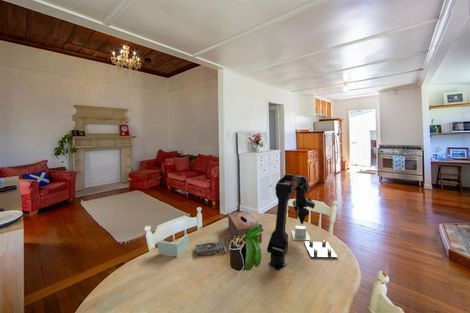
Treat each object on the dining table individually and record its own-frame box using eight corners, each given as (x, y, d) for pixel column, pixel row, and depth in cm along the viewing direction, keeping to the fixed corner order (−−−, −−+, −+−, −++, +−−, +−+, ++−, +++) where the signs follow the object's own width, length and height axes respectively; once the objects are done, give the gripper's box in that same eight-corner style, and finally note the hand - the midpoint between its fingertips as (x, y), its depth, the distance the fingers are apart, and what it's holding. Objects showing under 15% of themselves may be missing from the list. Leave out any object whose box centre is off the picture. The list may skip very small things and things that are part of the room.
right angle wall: (188, 246, 126) (187, 233, 125) (177, 257, 114) (176, 244, 113) (170, 243, 129) (170, 231, 128) (158, 254, 118) (157, 241, 117)
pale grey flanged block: (310, 241, 127) (310, 232, 126) (293, 241, 128) (293, 231, 127) (306, 232, 138) (306, 223, 138) (291, 231, 140) (291, 223, 139)
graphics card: (223, 237, 128) (226, 247, 117) (223, 243, 129) (227, 253, 117) (194, 241, 125) (195, 251, 113) (195, 247, 125) (195, 258, 113)
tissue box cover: (261, 241, 128) (261, 225, 127) (238, 245, 124) (238, 229, 123) (248, 224, 153) (247, 211, 152) (228, 227, 149) (228, 213, 148)
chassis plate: (337, 258, 108) (337, 253, 108) (311, 258, 109) (311, 252, 109) (327, 243, 123) (327, 238, 123) (304, 243, 124) (304, 238, 124)
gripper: (318, 200, 120) (318, 227, 122) (310, 191, 139) (309, 215, 141) (298, 200, 121) (298, 227, 123) (292, 192, 140) (292, 215, 142)
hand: (300, 220), depth 132 cm, fingers open, 9 cm apart
